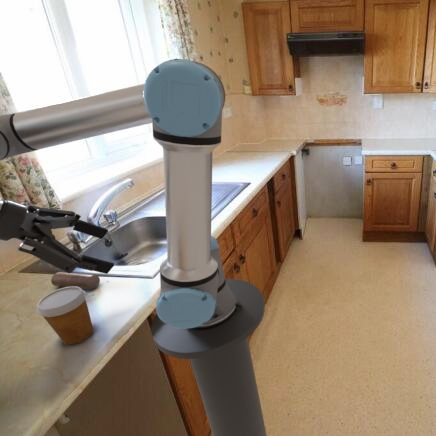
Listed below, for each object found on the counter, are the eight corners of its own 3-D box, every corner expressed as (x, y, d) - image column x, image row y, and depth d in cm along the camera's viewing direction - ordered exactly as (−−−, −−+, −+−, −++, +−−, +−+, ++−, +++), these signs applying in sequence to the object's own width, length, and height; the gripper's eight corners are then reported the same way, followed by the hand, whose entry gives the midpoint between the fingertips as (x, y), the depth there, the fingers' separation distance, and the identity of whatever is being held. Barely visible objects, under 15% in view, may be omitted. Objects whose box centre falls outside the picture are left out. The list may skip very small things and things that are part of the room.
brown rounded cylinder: (101, 283, 102) (97, 272, 100) (90, 292, 98) (84, 280, 96) (67, 280, 104) (61, 269, 102) (54, 289, 100) (48, 277, 98)
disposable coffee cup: (109, 323, 85) (93, 286, 80) (78, 352, 76) (58, 312, 71) (78, 320, 87) (61, 283, 82) (45, 347, 78) (23, 308, 73)
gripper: (-11, 198, 70) (94, 232, 86) (-31, 273, 54) (102, 298, 70) (10, 172, 69) (111, 211, 86) (-5, 240, 53) (123, 272, 70)
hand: (107, 250), depth 78 cm, fingers open, 13 cm apart
